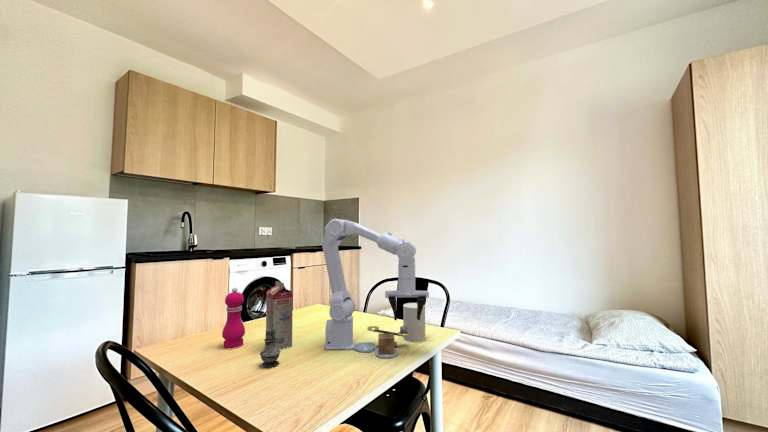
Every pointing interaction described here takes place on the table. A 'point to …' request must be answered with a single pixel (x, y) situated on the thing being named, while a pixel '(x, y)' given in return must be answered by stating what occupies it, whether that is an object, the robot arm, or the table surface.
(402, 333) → the balance
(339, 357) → the table surface
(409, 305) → the cup
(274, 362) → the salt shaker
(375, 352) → the dish right
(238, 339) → the pepper mill
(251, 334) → the table surface
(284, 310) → the juice carton
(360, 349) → the dish left
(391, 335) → the block
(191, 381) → the table surface
